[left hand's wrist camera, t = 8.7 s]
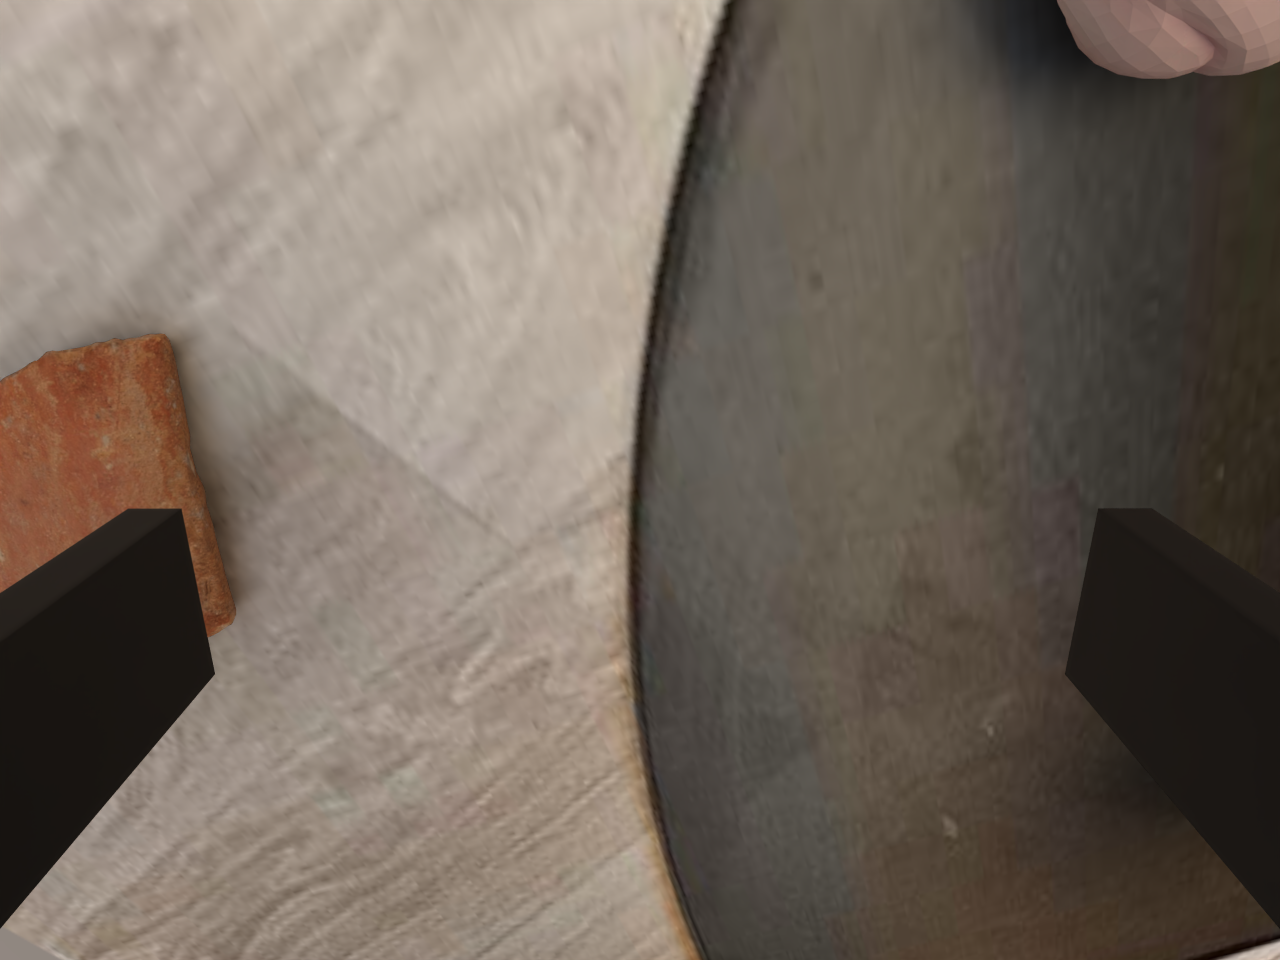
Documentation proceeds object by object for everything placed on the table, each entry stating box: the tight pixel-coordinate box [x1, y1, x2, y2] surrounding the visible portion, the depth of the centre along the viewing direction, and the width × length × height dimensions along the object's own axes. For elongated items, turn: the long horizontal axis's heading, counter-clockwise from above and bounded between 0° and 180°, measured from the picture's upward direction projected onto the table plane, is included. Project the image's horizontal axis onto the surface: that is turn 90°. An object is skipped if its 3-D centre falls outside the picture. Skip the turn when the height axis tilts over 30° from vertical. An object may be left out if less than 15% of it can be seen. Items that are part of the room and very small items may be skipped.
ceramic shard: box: [0, 334, 236, 637], centre depth 39 cm, size 15×6×15 cm
